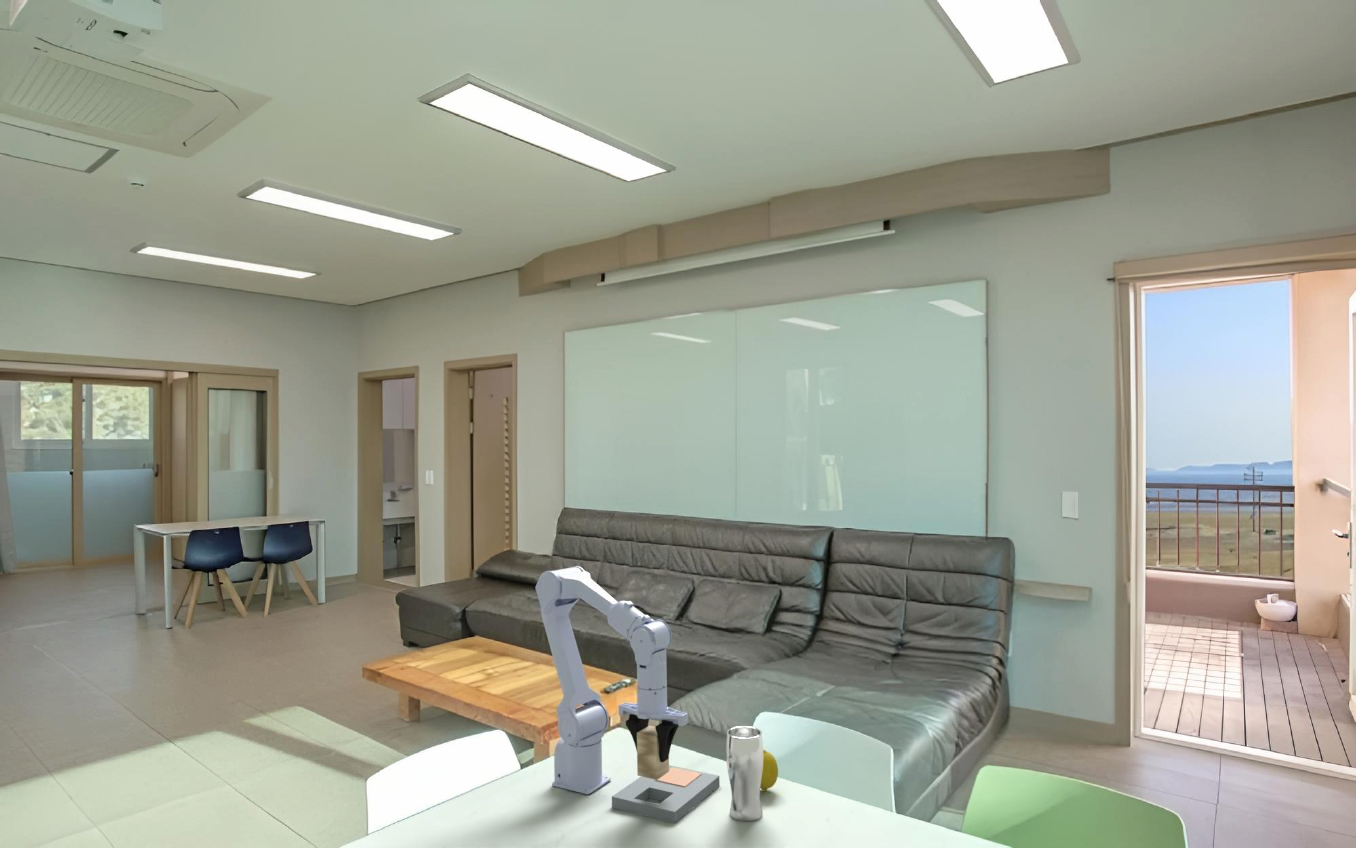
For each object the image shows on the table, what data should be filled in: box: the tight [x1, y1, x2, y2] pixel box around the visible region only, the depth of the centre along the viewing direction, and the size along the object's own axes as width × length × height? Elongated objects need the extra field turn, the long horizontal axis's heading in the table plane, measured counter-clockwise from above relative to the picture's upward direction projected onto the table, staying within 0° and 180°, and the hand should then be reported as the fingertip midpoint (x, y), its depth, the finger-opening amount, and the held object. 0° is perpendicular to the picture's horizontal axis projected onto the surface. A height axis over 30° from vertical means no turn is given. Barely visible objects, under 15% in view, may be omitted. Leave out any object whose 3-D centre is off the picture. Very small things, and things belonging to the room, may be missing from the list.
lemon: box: [760, 749, 779, 792], centre depth 151 cm, size 6×6×8 cm
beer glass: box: [725, 725, 764, 823], centre depth 141 cm, size 7×7×15 cm
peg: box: [636, 725, 670, 780], centre depth 145 cm, size 4×4×8 cm
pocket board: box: [611, 764, 721, 824], centre depth 149 cm, size 14×18×2 cm
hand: (653, 757), depth 145 cm, fingers closed on peg, 4 cm apart
